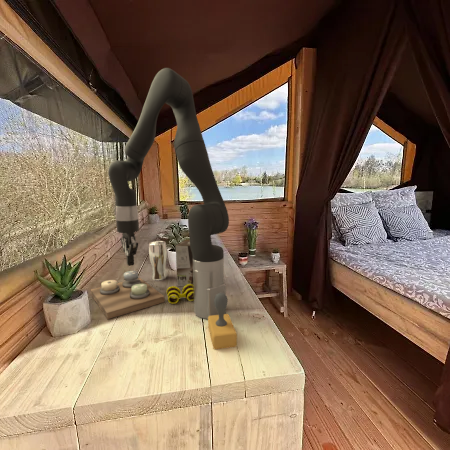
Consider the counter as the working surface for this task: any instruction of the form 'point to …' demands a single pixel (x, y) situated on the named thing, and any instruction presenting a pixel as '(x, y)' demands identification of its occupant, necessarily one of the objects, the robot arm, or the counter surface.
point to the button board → (125, 298)
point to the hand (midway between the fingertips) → (130, 264)
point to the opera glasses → (175, 291)
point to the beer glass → (158, 259)
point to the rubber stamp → (221, 325)
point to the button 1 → (109, 285)
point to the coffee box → (184, 264)
